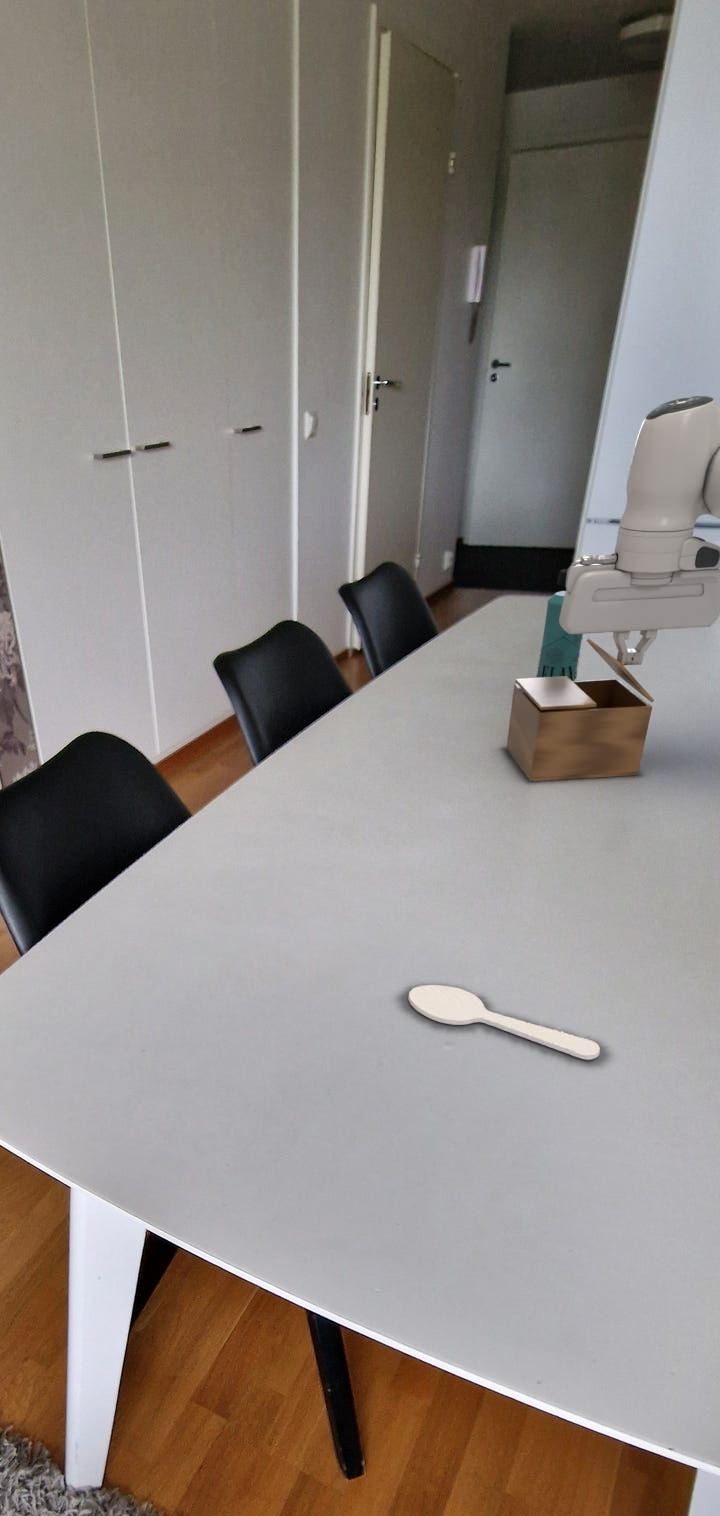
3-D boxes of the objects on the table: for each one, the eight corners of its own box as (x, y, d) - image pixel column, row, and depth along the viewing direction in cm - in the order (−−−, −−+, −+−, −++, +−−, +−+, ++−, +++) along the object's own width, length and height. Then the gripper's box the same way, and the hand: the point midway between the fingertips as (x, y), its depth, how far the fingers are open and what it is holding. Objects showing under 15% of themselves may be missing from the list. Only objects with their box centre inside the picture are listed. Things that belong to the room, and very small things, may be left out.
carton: (605, 743, 139) (619, 672, 133) (637, 775, 128) (653, 700, 122) (506, 748, 139) (514, 678, 133) (530, 781, 128) (540, 707, 122)
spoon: (588, 1072, 78) (589, 1067, 77) (397, 1007, 87) (397, 1002, 86) (608, 1039, 81) (609, 1034, 81) (423, 980, 90) (423, 976, 90)
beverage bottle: (530, 703, 155) (548, 573, 143) (535, 691, 160) (553, 565, 148) (571, 706, 153) (592, 574, 141) (575, 694, 158) (596, 565, 146)
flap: (617, 674, 133) (619, 672, 133) (651, 702, 122) (654, 700, 122) (586, 640, 130) (588, 638, 130) (618, 665, 119) (621, 663, 119)
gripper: (577, 560, 115) (559, 674, 123) (741, 551, 115) (712, 666, 123) (562, 551, 120) (545, 661, 128) (719, 543, 120) (692, 653, 128)
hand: (628, 664), depth 126 cm, fingers closed
